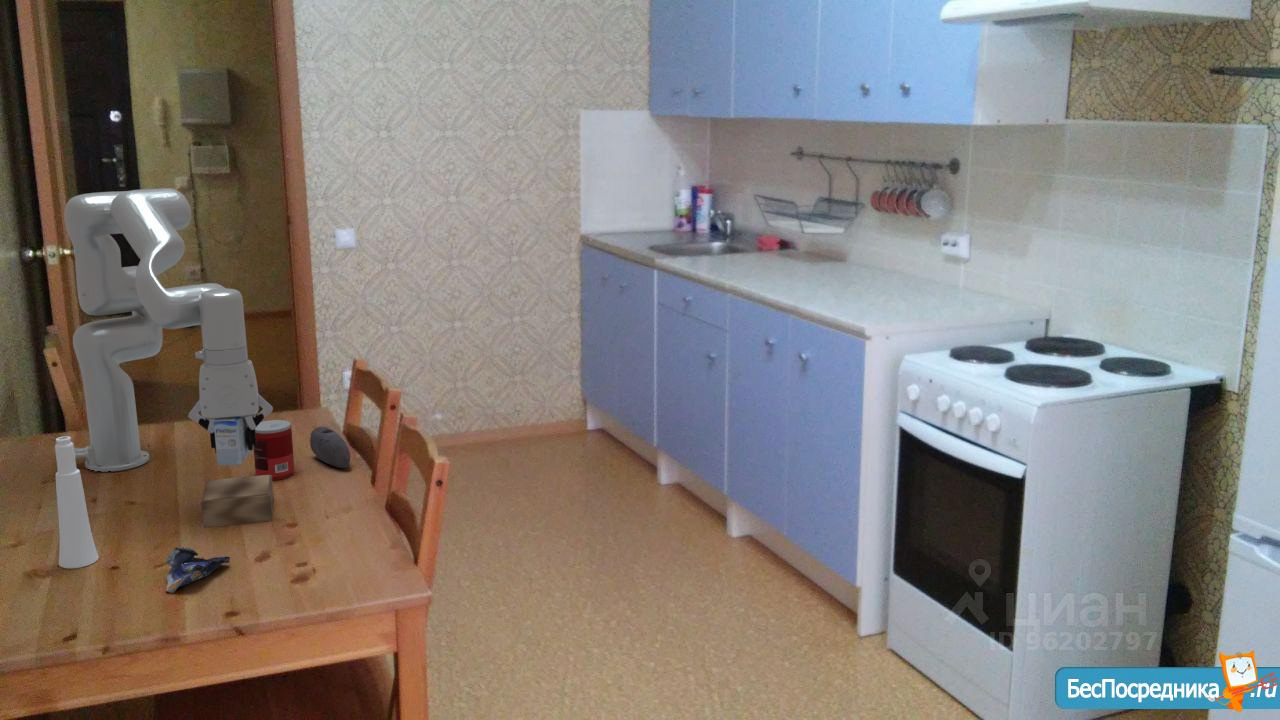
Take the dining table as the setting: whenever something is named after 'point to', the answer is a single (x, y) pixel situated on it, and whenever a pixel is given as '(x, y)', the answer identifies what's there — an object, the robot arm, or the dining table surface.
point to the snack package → (190, 566)
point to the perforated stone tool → (330, 447)
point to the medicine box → (231, 440)
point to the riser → (237, 501)
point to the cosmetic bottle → (72, 511)
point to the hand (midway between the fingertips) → (234, 448)
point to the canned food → (274, 449)
